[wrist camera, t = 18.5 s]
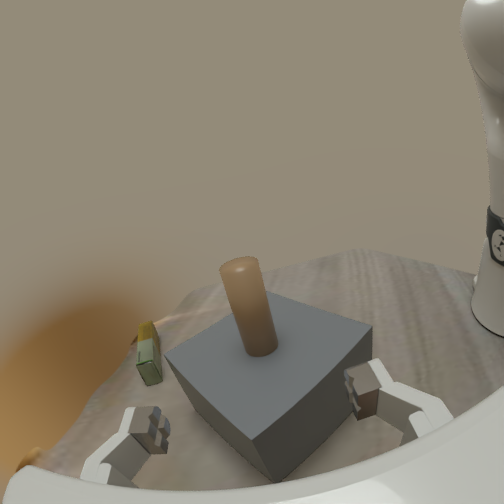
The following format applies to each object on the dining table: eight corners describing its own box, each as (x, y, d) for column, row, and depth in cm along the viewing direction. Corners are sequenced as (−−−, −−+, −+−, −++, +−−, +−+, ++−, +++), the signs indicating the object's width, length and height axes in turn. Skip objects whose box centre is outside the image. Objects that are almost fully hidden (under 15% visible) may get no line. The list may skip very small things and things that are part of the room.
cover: (370, 389, 26) (368, 240, 20) (276, 484, 18) (209, 353, 12) (281, 347, 37) (250, 226, 31) (195, 409, 29) (130, 284, 23)
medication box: (164, 382, 35) (153, 361, 33) (146, 387, 34) (134, 367, 33) (160, 338, 46) (151, 318, 44) (146, 342, 45) (137, 323, 44)
